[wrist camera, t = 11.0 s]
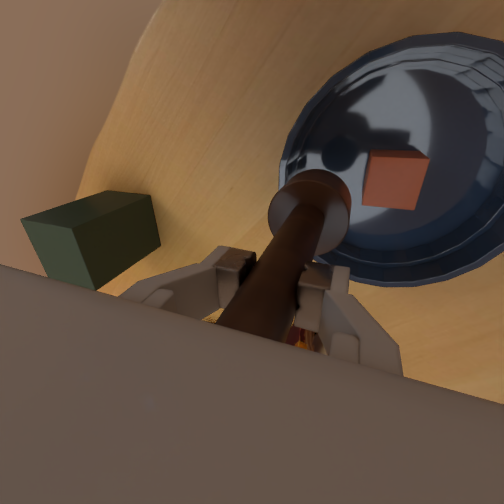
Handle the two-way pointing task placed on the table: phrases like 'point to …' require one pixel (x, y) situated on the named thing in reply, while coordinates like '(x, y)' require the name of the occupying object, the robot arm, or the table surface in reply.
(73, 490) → the robot arm
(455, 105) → the bowl
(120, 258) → the stand
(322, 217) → the masher with cylindrical head
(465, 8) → the table surface
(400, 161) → the terracotta block
